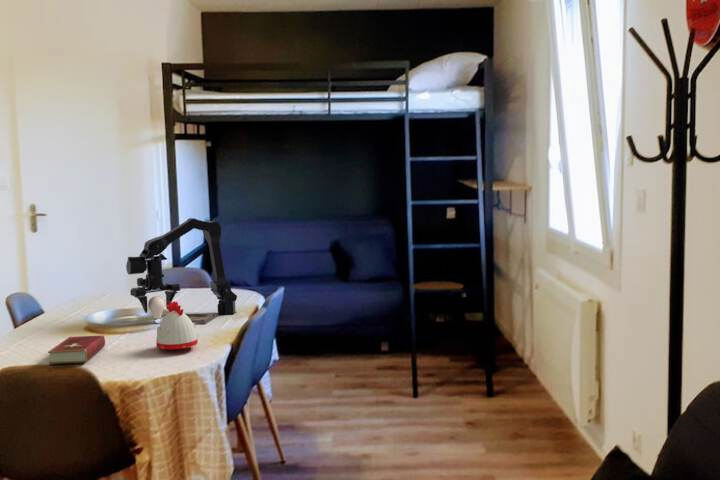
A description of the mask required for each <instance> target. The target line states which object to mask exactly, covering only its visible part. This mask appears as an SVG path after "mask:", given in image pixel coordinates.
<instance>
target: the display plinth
mask: <svg viewBox="0 0 720 480" xmlns="http://www.w3.org/2000/svg"><path fill="white" fill-rule="evenodd" d="M185 314H186V315H187V316H188V317H189V319H190V320H191V321H192V323H195V325H207V324H208V323H210V322H211V321H214V319H216V318H218V314H217V315H216V314H215V313H185Z"/></svg>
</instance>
